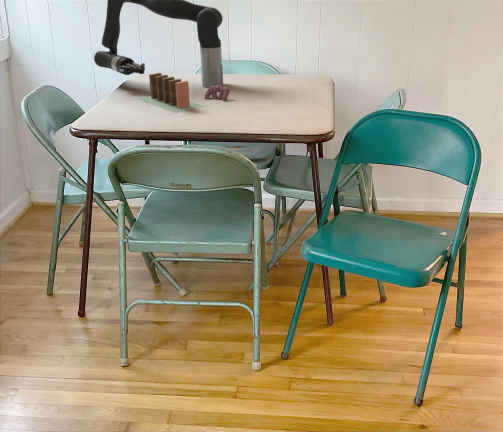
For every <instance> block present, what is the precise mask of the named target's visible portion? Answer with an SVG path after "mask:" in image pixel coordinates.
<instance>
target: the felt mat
mask: <svg viewBox="0 0 503 432" xmlns="http://www.w3.org/2000/svg"><path fill="white" fill-rule="evenodd" d="M137 100H140V101H143V102H146V103H147V104H150V105H153V106H155V107H158V108H161V109H164V110H167V111H169V112H172V113H175V114H177V113H181V112H182V113H183V112H186V111H190V110H194V109H200V108H204V107H205V105H202V104H199V103H197V102H194V101H192V100H191V101H190V100H189V102H190V106H188V107H184V108H177V105H175V106H171V105H170V103H167V104H165V103H164V100H163V101H157V98H156V99H152V98H151V95H147V96H142V97H137Z"/></svg>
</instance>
